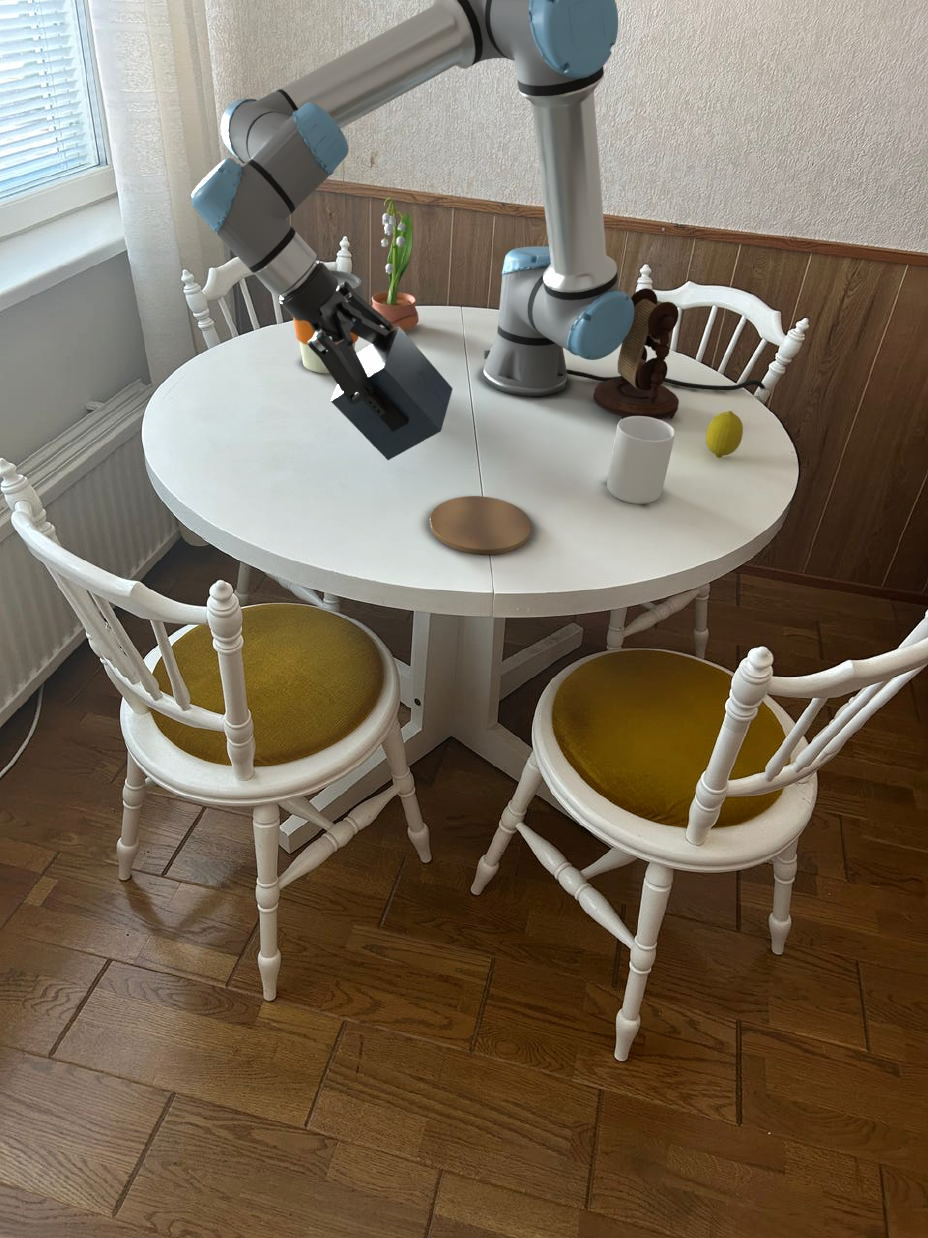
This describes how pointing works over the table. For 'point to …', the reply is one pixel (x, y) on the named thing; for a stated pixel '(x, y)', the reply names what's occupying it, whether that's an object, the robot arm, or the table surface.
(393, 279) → the potted flower
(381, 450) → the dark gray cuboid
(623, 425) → the mug
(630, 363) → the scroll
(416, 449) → the table surface
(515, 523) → the cork trivet
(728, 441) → the lemon
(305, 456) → the table surface
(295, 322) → the reusable coffee cup
